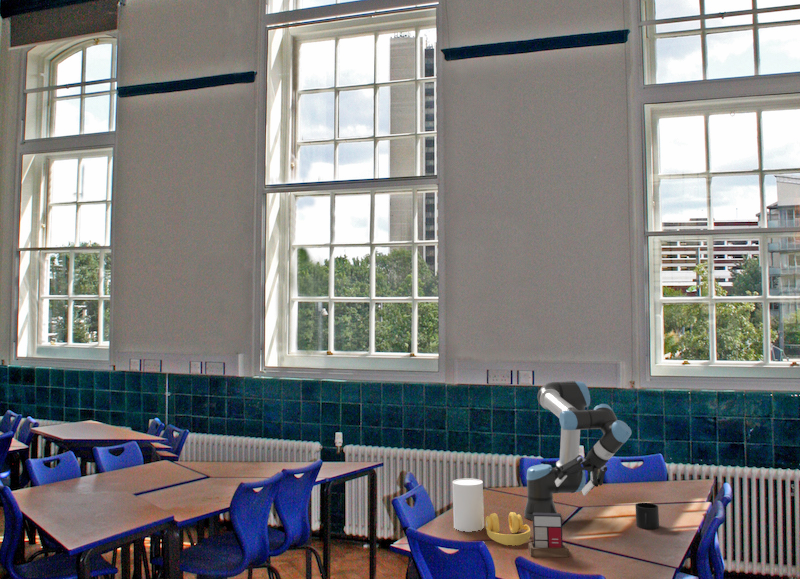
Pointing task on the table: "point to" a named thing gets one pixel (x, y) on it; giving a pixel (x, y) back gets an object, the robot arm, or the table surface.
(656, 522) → the mug
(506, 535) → the headset
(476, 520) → the canister
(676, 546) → the table surface
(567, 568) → the table surface
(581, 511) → the table surface
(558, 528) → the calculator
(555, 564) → the table surface
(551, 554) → the slot stand
